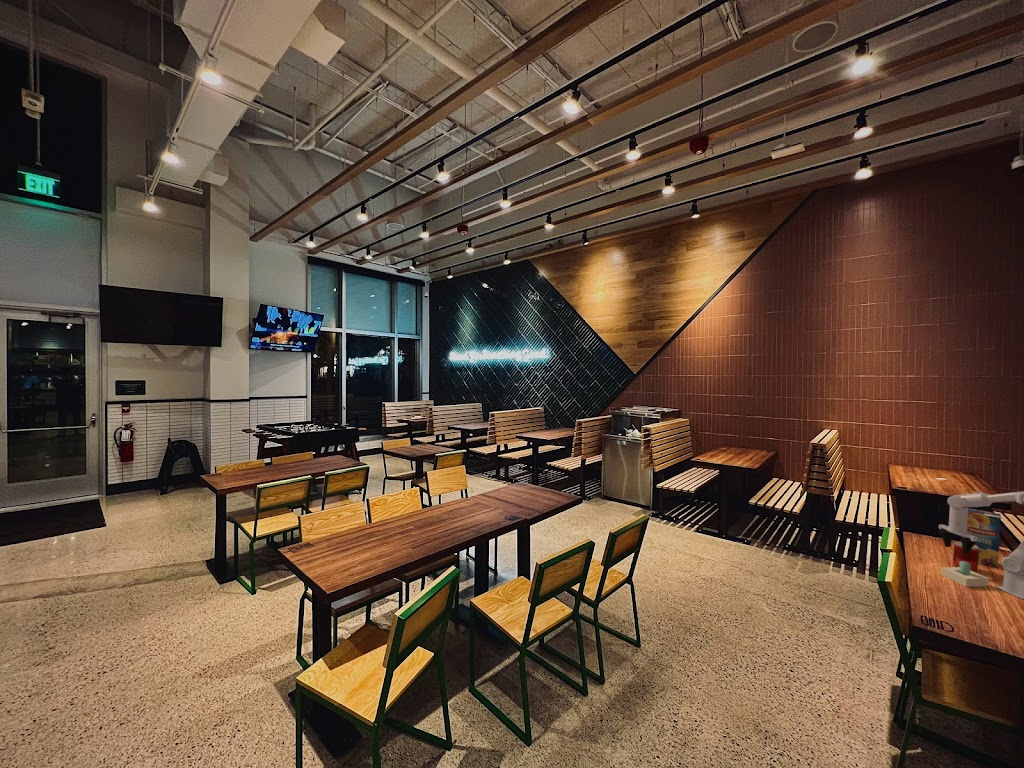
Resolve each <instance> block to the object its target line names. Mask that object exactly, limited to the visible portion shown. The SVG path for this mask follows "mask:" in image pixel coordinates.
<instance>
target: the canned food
mask: <svg viewBox="0 0 1024 768" xmlns="http://www.w3.org/2000/svg"><path fill="white" fill-rule="evenodd" d="M952 556H953V557H952V565H953V567H960V561H964V562H968V563H970V564H971V567H970V570H971V571H973V572H977V571H978V569H979V568H978V567H979V564H978V559H979V547H978V546H976V545H974V546H973V547H972V548H971V550H970V552H969V554H963V552H962V542H961V541H954V545H953V555H952Z"/></svg>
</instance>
